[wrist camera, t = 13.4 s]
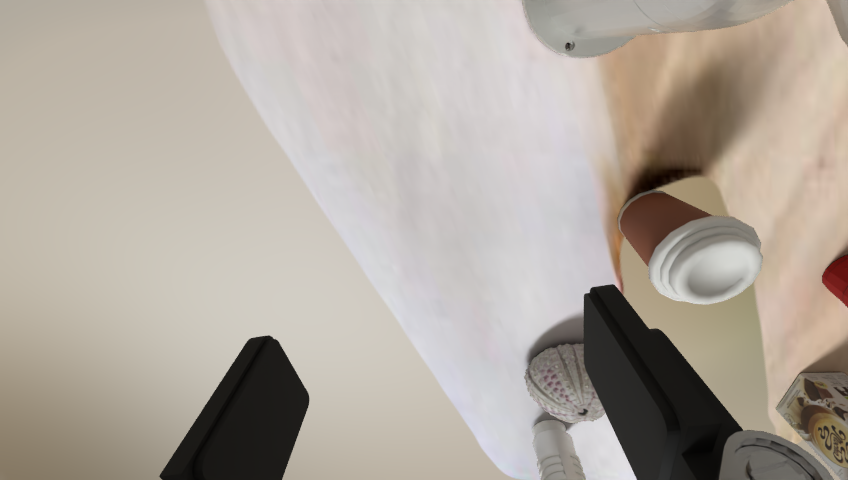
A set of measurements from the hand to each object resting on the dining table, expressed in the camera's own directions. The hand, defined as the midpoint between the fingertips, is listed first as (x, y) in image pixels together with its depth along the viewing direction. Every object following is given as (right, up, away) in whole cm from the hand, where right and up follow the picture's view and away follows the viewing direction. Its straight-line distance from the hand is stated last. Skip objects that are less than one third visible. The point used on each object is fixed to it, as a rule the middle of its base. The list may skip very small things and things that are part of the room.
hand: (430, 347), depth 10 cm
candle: (+22, -31, +51) cm, 64 cm away
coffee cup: (+26, +6, +30) cm, 40 cm away
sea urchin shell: (+22, -16, +43) cm, 51 cm away
